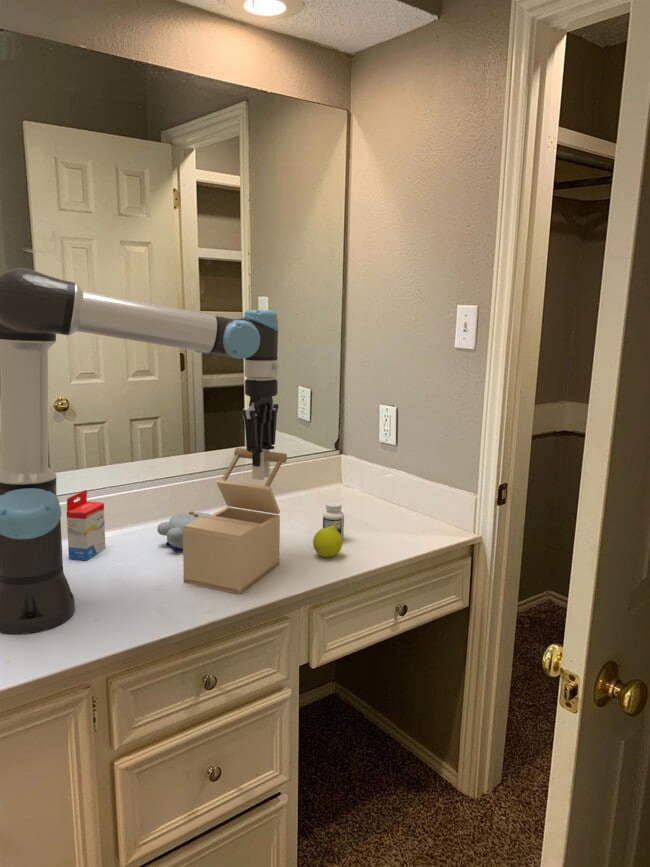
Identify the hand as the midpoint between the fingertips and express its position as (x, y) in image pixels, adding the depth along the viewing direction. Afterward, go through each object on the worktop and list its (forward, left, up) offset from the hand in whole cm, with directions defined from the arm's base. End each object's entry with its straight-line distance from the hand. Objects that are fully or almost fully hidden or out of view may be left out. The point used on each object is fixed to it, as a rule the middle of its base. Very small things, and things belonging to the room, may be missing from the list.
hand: (261, 477), depth 155 cm
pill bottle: (+17, -12, -19) cm, 29 cm away
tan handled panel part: (-6, 0, -3) cm, 7 cm away
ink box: (-18, +37, -20) cm, 46 cm away
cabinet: (-13, 0, -19) cm, 23 cm away
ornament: (+6, -15, -20) cm, 25 cm away
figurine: (+1, +17, -20) cm, 26 cm away
